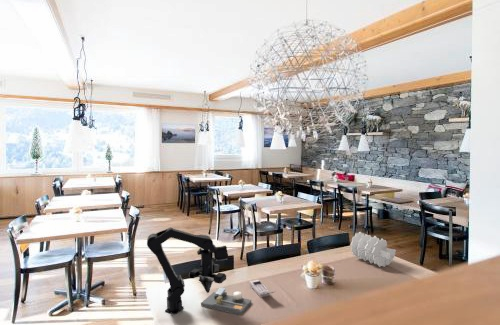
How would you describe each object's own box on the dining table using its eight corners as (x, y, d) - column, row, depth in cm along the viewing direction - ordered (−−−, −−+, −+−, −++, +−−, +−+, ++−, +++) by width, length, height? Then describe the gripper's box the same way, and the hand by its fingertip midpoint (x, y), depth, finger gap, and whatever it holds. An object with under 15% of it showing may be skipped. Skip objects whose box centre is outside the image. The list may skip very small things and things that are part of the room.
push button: (231, 298, 152) (231, 294, 152) (235, 294, 156) (235, 290, 156) (239, 300, 150) (239, 296, 150) (243, 296, 154) (243, 292, 154)
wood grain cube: (216, 304, 150) (216, 298, 150) (219, 301, 152) (219, 295, 152) (220, 304, 149) (219, 298, 149) (222, 302, 151) (222, 296, 151)
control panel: (201, 305, 152) (200, 300, 152) (213, 294, 163) (213, 289, 162) (240, 315, 142) (240, 308, 142) (251, 302, 153) (251, 297, 153)
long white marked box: (265, 293, 151) (247, 273, 174) (265, 305, 151) (247, 284, 175) (276, 291, 153) (257, 272, 177) (276, 302, 154) (257, 282, 177)
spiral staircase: (382, 275, 190) (351, 261, 212) (399, 259, 197) (368, 246, 219) (374, 252, 185) (344, 239, 207) (392, 236, 191) (361, 225, 213)
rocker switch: (215, 295, 156) (215, 293, 155) (220, 288, 160) (220, 287, 160) (220, 296, 154) (220, 294, 154) (225, 289, 159) (225, 288, 159)
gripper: (231, 258, 156) (232, 288, 156) (200, 254, 163) (201, 282, 164) (220, 266, 146) (221, 298, 146) (187, 261, 153) (188, 291, 154)
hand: (207, 292), depth 153 cm, fingers closed
